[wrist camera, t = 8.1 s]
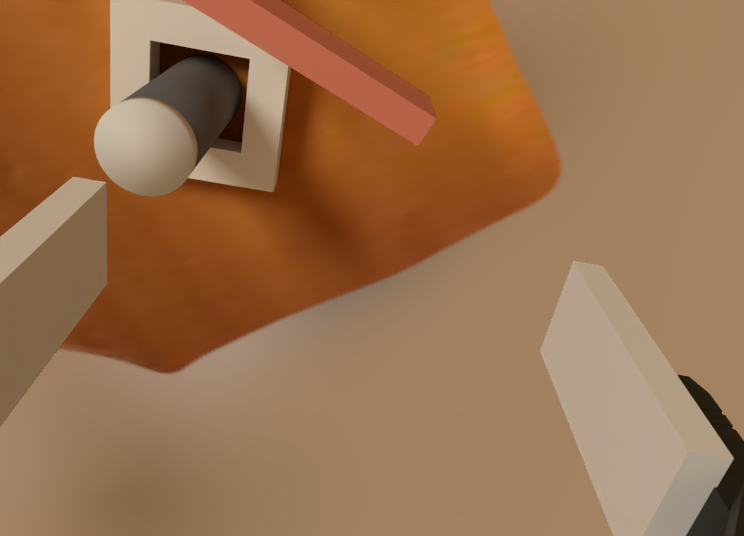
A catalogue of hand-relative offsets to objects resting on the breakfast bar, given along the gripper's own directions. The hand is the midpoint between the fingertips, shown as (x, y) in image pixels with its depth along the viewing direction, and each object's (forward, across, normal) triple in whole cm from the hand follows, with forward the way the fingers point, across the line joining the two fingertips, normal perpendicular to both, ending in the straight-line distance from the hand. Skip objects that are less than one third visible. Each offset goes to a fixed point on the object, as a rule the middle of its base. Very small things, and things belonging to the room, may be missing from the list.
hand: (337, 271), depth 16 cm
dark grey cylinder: (+26, -9, -3) cm, 28 cm away
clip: (+13, -4, +4) cm, 14 cm away
